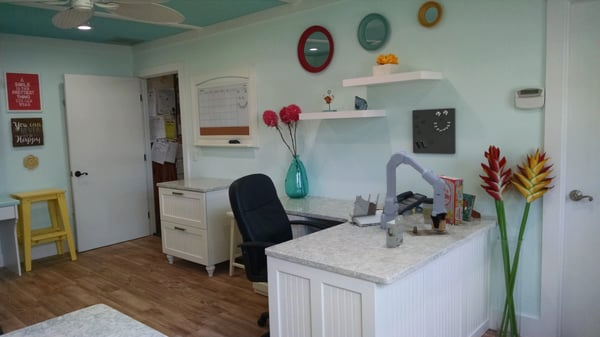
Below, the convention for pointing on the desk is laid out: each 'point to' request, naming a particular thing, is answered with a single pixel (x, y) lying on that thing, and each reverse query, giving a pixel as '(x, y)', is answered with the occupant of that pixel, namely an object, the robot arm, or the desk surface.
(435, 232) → the hub board
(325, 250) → the desk surface
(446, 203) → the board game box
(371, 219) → the architectural model
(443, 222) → the collar
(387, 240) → the ink box
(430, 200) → the coffee cup
